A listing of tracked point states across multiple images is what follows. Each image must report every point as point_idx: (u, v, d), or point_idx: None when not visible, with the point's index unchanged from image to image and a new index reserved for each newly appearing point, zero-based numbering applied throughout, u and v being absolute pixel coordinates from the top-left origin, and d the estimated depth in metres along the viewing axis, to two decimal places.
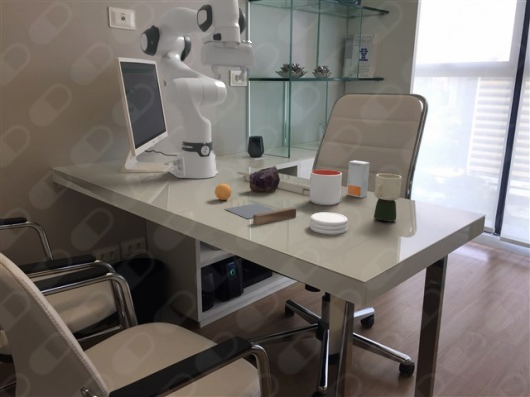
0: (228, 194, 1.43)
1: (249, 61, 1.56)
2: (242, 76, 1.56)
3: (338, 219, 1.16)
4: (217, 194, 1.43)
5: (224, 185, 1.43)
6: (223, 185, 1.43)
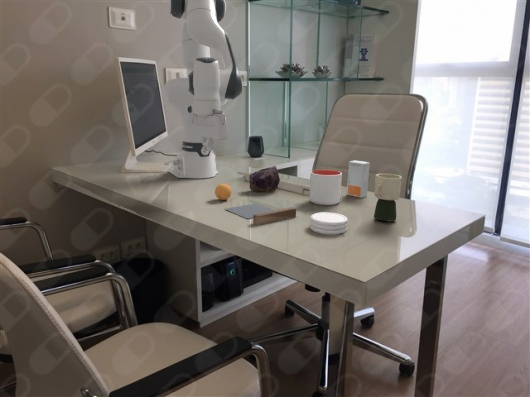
0: (228, 194, 1.43)
1: (214, 133, 1.40)
2: (206, 147, 1.47)
3: (338, 219, 1.16)
4: (217, 194, 1.43)
5: (224, 185, 1.43)
6: (223, 185, 1.43)
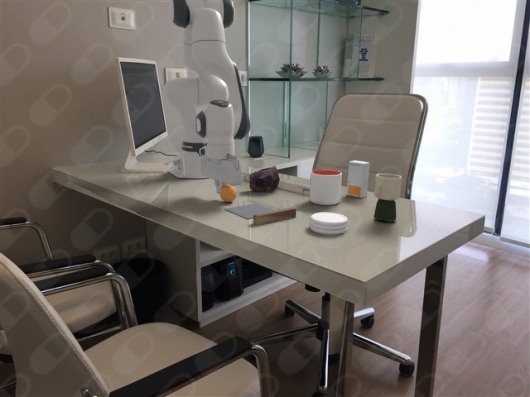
0: (231, 201, 1.42)
1: (228, 179, 1.37)
2: (219, 191, 1.44)
3: (338, 219, 1.16)
4: (221, 197, 1.41)
5: (232, 193, 1.40)
6: (230, 193, 1.39)
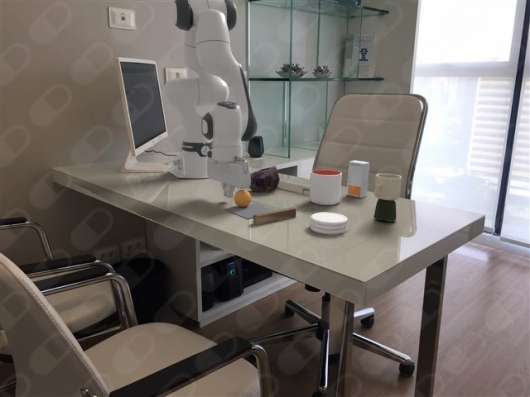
0: None
1: (236, 182, 1.34)
2: (227, 194, 1.41)
3: (338, 219, 1.16)
4: (235, 197, 1.35)
5: None
6: None
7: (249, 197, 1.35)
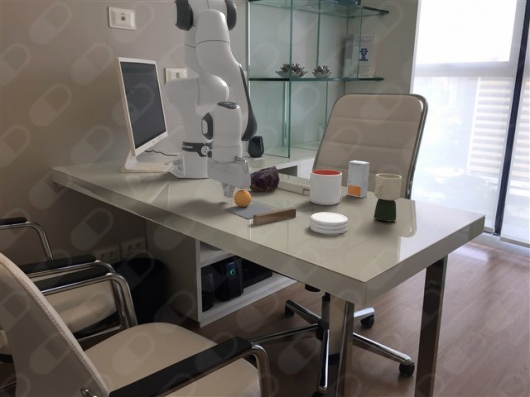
0: None
1: (236, 182, 1.34)
2: (227, 194, 1.41)
3: (338, 219, 1.16)
4: (235, 197, 1.35)
5: None
6: None
7: (249, 197, 1.35)
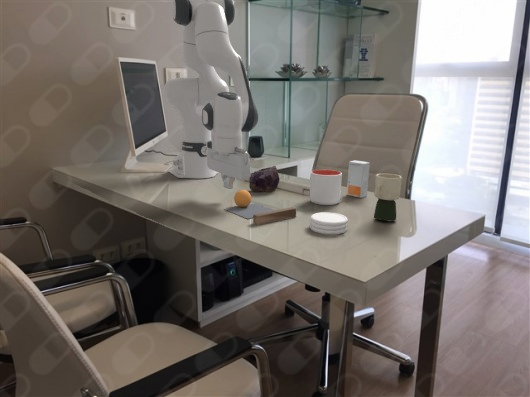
0: None
1: (236, 173, 1.34)
2: (227, 185, 1.41)
3: (338, 219, 1.16)
4: (235, 197, 1.35)
5: None
6: None
7: (249, 197, 1.35)
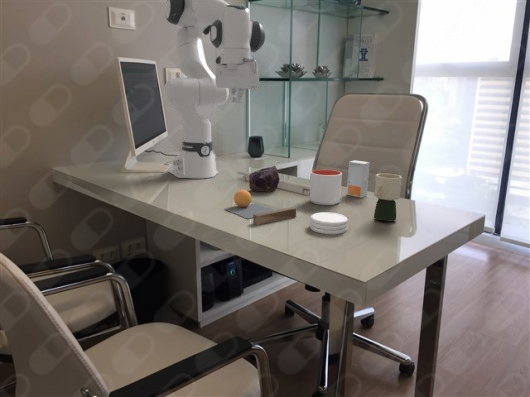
0: None
1: (245, 82, 1.37)
2: (235, 99, 1.44)
3: (338, 219, 1.16)
4: (235, 197, 1.35)
5: None
6: None
7: (249, 197, 1.35)
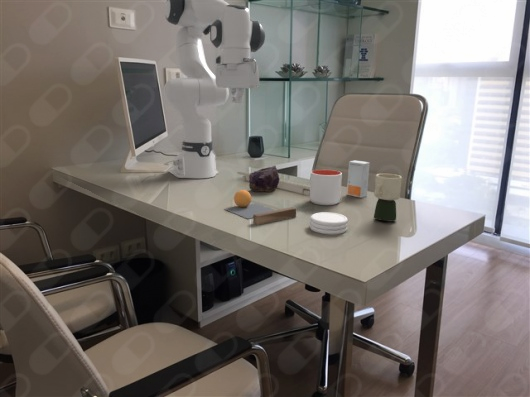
0: None
1: (245, 82, 1.37)
2: (235, 99, 1.44)
3: (338, 219, 1.16)
4: (235, 197, 1.35)
5: None
6: None
7: (249, 197, 1.35)
